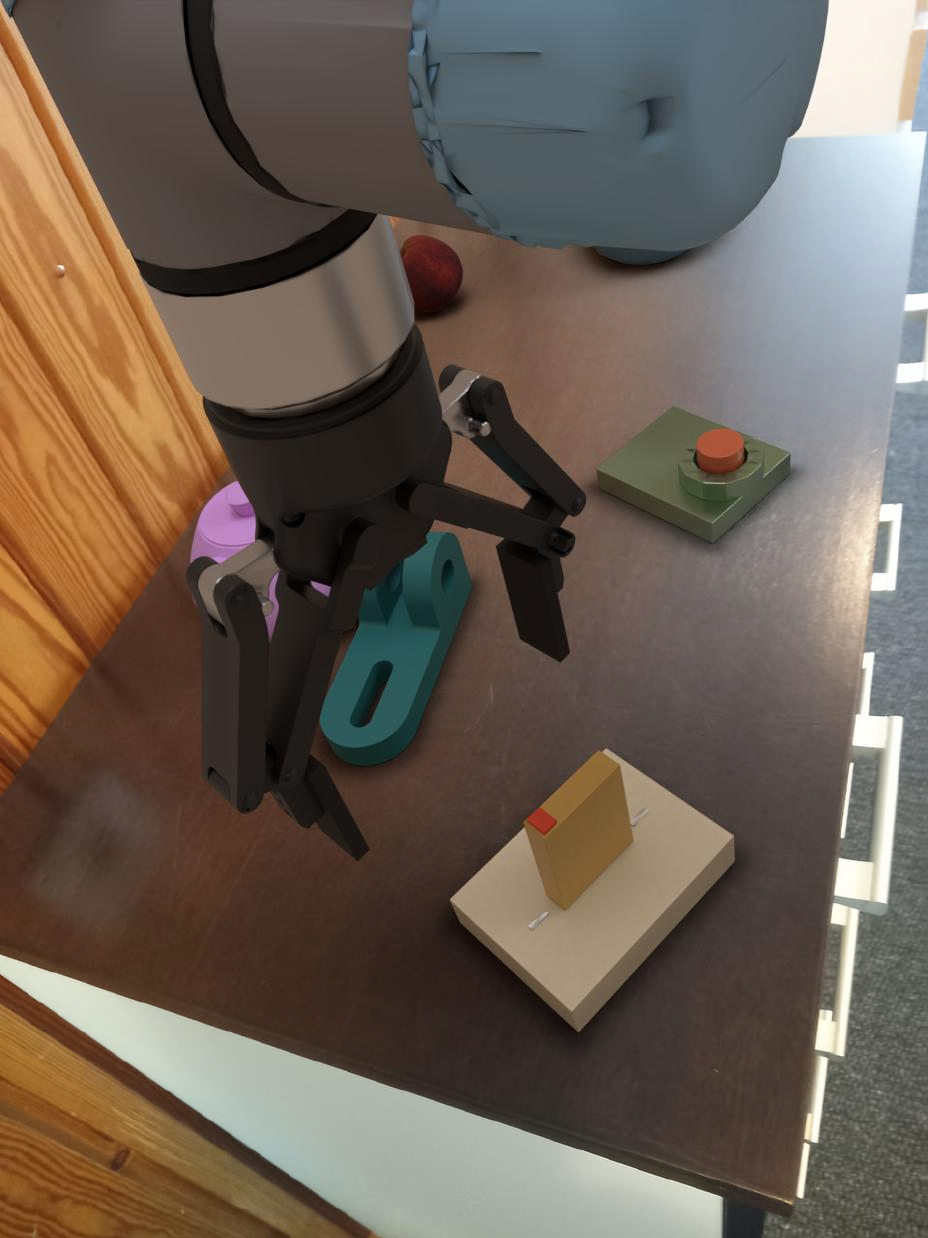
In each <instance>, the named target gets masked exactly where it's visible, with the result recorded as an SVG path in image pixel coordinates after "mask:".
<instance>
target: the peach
mask: <svg viewBox="0 0 928 1238" xmlns="http://www.w3.org/2000/svg"><path fill="white" fill-rule="evenodd" d="M399 252H400V256H401V259H402V262H403V266H404V269H405V273H406V276H407V279H408V283H409V286H410V290H411V293H412V296H413V300H414V311H417V312H422V313H433V312H437V311H440V310H442V309H444V308H445V307H446V306H448V305H449V304H450V303H451V302H453V300H454V299H455V297H456V296H457V295H458V293H459V291H460V289H461V286H462V283H463V278H464V267H463V264H462V261H461V259H460V257H459V255H458V253H457V252H456V251H455V250H454V249H453V248H452V247H451V246H450V245H449V244H447V243H445V242H444V241H443V240H440V239H438V238H436V237H433V236H430V235H429V236H428V235H423V234H415V235H412V236H409V237H407V239H405V240H404V242H403V244H402V246H401V248H400V249H399Z"/></svg>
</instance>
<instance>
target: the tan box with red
mask: <svg viewBox="0 0 928 1238" xmlns="http://www.w3.org/2000/svg"><path fill="white" fill-rule="evenodd" d="M602 752H603V751H601V750H600V749H598V750H597V751H596V752H595V753H593V755H591V756H590V757H589V759H587V761H585V762H584V764H582V765H581V767H579V768H578V769H577V770H576V771H575V772H574V773H573V774H572V775H571V776H570V777H569V778H568V779H567V780H566V781H565V782H564V783H563V784H561V785H560V786H559V787H558V788H557V790H555V792H553V793H552V794H550V796H549V797H548V798H547V799H546V800H545V801H544V802H543V803H542V804H541V805H540V806H539V807H538V808H536V809H535V810H534V811H533V813H531V815H530V816H528V817H527V818H526V819H525V820H524V821H523V822H522V823H523V828H524V827H525V830H526V833H527V836H528V840H529V843H530V846H531V849H532V852H533V855H534V858H535V862H536V865H537V868H538V871H539V874H540V877H541V880H542V884H543V887H544V890H545V893H546V895H547V896H548V897H549V898H551V899H552V900H553V901H554V902H555V903H557V904H558V905H559V906H560V907H561V908H562V909H564V910H567V909H568V908H569V907H570V905H571V904H572V903H573V902H574V901H575V900H576V899H577V898H578V897H579V896H580V895H581V894H582V893H583V892H584V891H585V890H586V889H587V888H588V887H589V886H590V885H591V884H592V883H593V882H594V881H595V880H596V879H597V878H598V877H599V876H600V875H601V874H602V873H603V872H604V871H605V870H606V868H607V867H608V866H609V865H610V864H611V863H612V862H613V861H614V860H615V859H616V858H617V857H618V856H619V855H620V854H621V853H622V852H623V851H624V850H625V849H626V848H627V847H628V846H629V845H630V844H631V843H632V842H633V834H632V828H631V823H630V817H629V812H628V806H627V800H626V795H625V789H624V783H623V778H622V772H621V767H620V764H618V763H617V762H615V761H614V760H613V759H611V758H610V757H608V756H607V755H605V754H604V753H602Z"/></svg>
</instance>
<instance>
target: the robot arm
mask: <svg viewBox="0 0 928 1238" xmlns="http://www.w3.org/2000/svg"><path fill="white" fill-rule="evenodd" d="M0 3H1V6H2V7H3V9H4V11H5V13H6V15H7V16H8V18H9V19H10V20H11V18H12V20H13V22H14V24H15V27H16V29H17V30H18V32H19V34H20V35H21V38H22V40H23V42H24V44H25V46H26V48H27V50H28V52H29V55H30V56H31V58H32V60H33V62H34V64H35V66H36V68H37V70H38V72H39V74H40V76H41V78H42V81H43V83H44V84H45V86H46V89H47V90H48V92H49V95H50V97H51V98H52V101H53V102H54V104H55V106H56V108H57V112H58V113H59V114H60V117H61V119H62V120H63V123H64V125H65V127H66V129H67V130H68V133H69V135H70V136H71V139H72V141H73V143H74V145H75V147H76V149H77V151H78V153H79V155H80V157H81V159H82V161H83V163H84V165H85V167H86V169H87V171H88V173H89V175H90V177H91V179H92V181H93V184H94V185H95V187H96V189H97V191H98V194H99V195H100V197H101V199H102V201H103V203H104V206H105V207H106V209H107V211H108V213H109V215H110V217H111V220H112V221H113V224H114V225H115V227H116V229H117V232H118V234H119V235H120V237H121V240H122V242H123V244H124V245H125V247H126V249H127V250H129V252H130V255H131V258H132V259H133V261H134V263H135V265H136V268H137V269H138V271H139V272H138V273H139V274H138V275H139V277H140V279H141V281H142V283H143V286H144V287H145V289H146V291H147V294H148V296H149V298H150V300H151V302H152V303H153V306H154V308H155V310H156V312H157V314H158V316H159V319H160V321H161V323H162V324H163V327H164V330H165V331H166V334H167V335H168V337H169V339H170V341H171V344H172V346H173V348H174V349H175V351H176V352H175V353H176V354H177V356H178V358H179V360H180V362H181V364H182V366H183V368H184V370H185V372H186V374H187V377H188V379H189V381H190V383H191V384H192V386H193V388H194V389H195V390H196V392H197V393H198V394H200V395H201V396H202V398H201V399H202V408H203V411H204V413H205V414H204V415H205V416H206V419H207V420H208V422H209V424H210V426H211V428H212V430H213V433H214V435H215V437H216V439H217V441H218V444H219V445H220V447H221V449H222V451H223V453H224V455H225V458H226V459H227V462H228V464H229V466H230V469H231V471H232V472H233V474H234V477H235V478H236V481H238V483H239V485H240V486H241V488H242V490H243V492H244V494H245V495H246V497H247V499H248V500H249V502H250V504H251V506H252V508H253V510H254V514H255V522H256V527H255V542H253V543H252V544H250V545H248V546H247V547H245V548H244V549H242V550H241V551H239V552H237V553H236V554H234V555H233V556H231V557H230V558H228V559H226V560H225V561H223V562H222V563H218V562H217V561H215V560H214V559H212V558H210V557H208V556H201V557H199V558H196V559H195V560H194V561H193V562H191V563H190V562H189V565H188V567H187V569H186V573H185V579H186V583H187V585H188V588H189V590H190V593H191V596H192V595H193V596H192V599H193V598H194V600H195V603H196V605H197V606H196V605H195V606H196V608H197V610H198V612H199V615H200V617H201V619H200V622H201V626H200V627H201V628H200V629H201V632H200V634H201V637H200V638H201V639H200V640H201V642H200V643H201V645H200V646H201V647H200V648H201V650H200V651H201V652H200V654H201V659H200V661H201V663H200V664H201V669H200V670H201V674H200V675H201V678H200V679H201V680H200V681H201V684H200V685H201V690H200V691H201V777H202V779H203V780H204V781H205V782H206V783H207V784H208V785H209V786H210V787H211V788H212V789H213V790H215V791H216V793H218V794H219V795H220V796H221V798H223V799H224V800H226V801H227V802H228V803H229V804H230V805H231V806H233V808H235V809H236V810H237V811H238V812H239V813H240V814H243V815H244V814H245V815H246V814H251V813H252V812H253V811H255V810H256V809H258V808H259V806H260V805H261V804H262V803H263V800H264V797H265V794H268V793H270V794H271V796H272V797H273V799H274V801H275V802H276V804H277V806H278V808H279V809H281V811H283V812H284V813H285V814H286V815H287V816H289V817H290V818H291V819H292V820H293V821H294V822H295V823H296V824H298V825H299V826H300V827H302V828H304V829H306V830H309V829H310V828H311V827H312V826H313V825H315V824H316V826H317V828H318V829H319V830H320V831H321V832H322V833H323V834H325V835H326V836H327V837H328V838H329V839H330V840H332V841H333V842H334V843H335V844H337V846H339V847H340V848H341V849H342V850H343V851H345V853H347V854H348V855H349V856H350V857H352V858H353V859H354V860H355V861H356V862H359V861H360V860H361V859H362V858H363V857H365V855H366V854H367V853H368V852H369V851H370V850H371V848H370V847H369V845H368V843H367V841H366V839H365V837H364V835H363V833H362V832H361V830H360V828H359V826H358V824H357V822H356V820H355V818H354V817H353V815H352V813H351V812H350V809H349V808H348V805H347V803H346V802H345V800H344V798H343V796H342V795H341V793H340V791H339V789H338V787H337V786H336V784H335V782H334V780H333V778H332V776H331V774H330V773H329V771H328V768H327V767H326V765H325V764H323V763H322V762H321V761H320V760H319V759H317V758H316V757H315V756H314V755H312V754H311V752H312V747H313V745H314V740H315V736H316V733H317V729H318V726H319V723H320V715H321V711H322V708H323V704H324V701H325V698H326V696H327V694H328V690H329V685H330V682H331V678H332V674H333V671H334V667H335V663H336V661H337V660H336V659H337V656H338V652H339V649H340V645H341V642H342V639H343V634H344V632H346V631H350V630H352V629H353V628H354V627H355V625H356V623H357V620H358V613H359V609H360V606H361V602H362V598H363V595H364V591H365V588H366V589H367V590H369V591H371V590H373V589H374V588H375V587H376V586H377V585H378V584H380V583H381V582H382V581H383V580H384V579H385V578H386V577H387V576H388V574H389V573H390V572H391V571H392V570H393V568H394V567H395V566H396V565H397V563H399V562H400V561H402V560H404V559H406V558H408V557H410V556H412V555H414V554H415V553H416V552H417V551H418V550H420V549H421V548H422V547H423V546H424V545H425V544H427V543H428V542H427V539H426V536H427V534H428V533H429V531H431V530H432V528H433V525H434V524H435V523H434V522H435V521H438V522H441V523H446V524H448V525H452V526H456V527H458V528H462V529H466V530H468V529H472V530H475V531H478V532H482V533H484V534H489V535H491V536H495V537H498V538H502V540H500V542H498V543H497V545H495V550H496V553H497V557H498V561H499V565H500V568H501V569H500V570H501V573H502V576H503V580H504V584H505V588H506V592H507V596H508V599H509V603H510V608H511V611H512V614H513V620H514V622H515V625H516V629H517V630H516V631H517V634H518V637H519V640H520V641H522V642H524V643H525V644H527V645H529V646H531V647H532V648H534V649H536V650H537V651H539V652H541V653H543V654H544V655H546V656H548V657H549V658H552V659H553V660H554V661H557V662H558V663H559V664H561V663H562V662H563V661H564V660H565V659H566V658H567V657H568V656H569V655H570V654H571V649H570V645H569V641H568V635H567V631H566V625H565V621H564V616H563V612H562V611H563V610H562V607H561V602H560V597H559V593H560V591H562V590H563V589H564V583H565V575H564V570H563V565H562V560H561V559H562V558H567V557H568V556H569V555H570V554H571V553H572V551H573V550H574V547H575V544H576V535H575V534H574V532H572V531H570V530H568V529H566V528H564V527H562V525H563V523H564V522H565V521H566V519H567V518H568V516H570V517H573V518H576V517H578V516H579V515H580V514H581V513H582V512H583V511H584V508H585V507H586V503H587V495H586V493H585V491H584V490H583V489H582V488H581V487H580V486H579V485H578V484H577V483H576V482H575V481H574V480H573V479H572V478H571V477H570V476H569V475H568V474H567V472H566V471H565V470H564V469H563V468H562V467H561V466H560V465H559V464H558V463H557V462H556V461H555V460H554V459H553V457H551V455H549V453H547V452H546V450H545V449H544V448H543V447H542V446H541V445H540V444H539V442H537V441H536V440H535V439H534V438H533V437H532V436H531V435H530V434H529V433H528V432H527V431H526V429H525V428H524V427H523V426H522V425H521V424H520V423H519V422H518V421H517V420H516V419H515V416H514V413H513V410H512V407H511V403H510V400H509V398H508V395H507V393H506V389H505V386H504V385H503V383H502V382H501V381H499V380H497V379H493V378H491V377H489V376H487V375H484V374H481V373H478V372H476V371H473V370H470V369H468V368H465V367H462V366H459V365H457V364H454V363H452V364H451V363H450V364H448V365H446V366H445V367H443V369H442V371H441V372H440V374H439V376H438V383H437V385H438V389H439V392H440V393H438V389H437V385H436V382H435V378H434V374H433V371H432V368H431V363H430V360H429V356H428V353H427V349H426V345H425V342H424V339H423V335H422V332H421V330H420V328H419V327H418V325H417V324H416V322H415V309H414V300H413V296H412V293H411V290H410V286H409V283H408V279H407V276H406V273H405V269H404V266H403V262H402V259H401V256H400V249H399V245H398V242H397V238H396V236H395V231H394V229H393V226H392V222H391V219H390V217H392V218H397V219H403V220H408V221H414V222H419V223H424V224H430V225H435V226H436V225H437V226H441V227H446V228H451V229H457V230H463V231H467V232H473V233H479V234H483V235H489V236H493V237H494V236H495V237H497V238H500V239H502V240H504V241H514V242H516V243H518V244H519V245H521V246H523V247H528V248H534V249H536V248H538V247H539V246H540V247H542V248H544V249H545V248H547V249H552V250H558V251H561V250H563V249H565V248H566V247H568V246H570V245H573V246H578V247H583V248H590V247H593V246H605V247H619V248H633V249H647V250H661V251H679V250H685V249H688V250H691V249H695V248H698V247H702V246H704V245H708V244H709V243H711V242H714V241H715V240H718V239H720V238H721V237H723V236H725V235H726V234H728V233H729V232H731V231H732V230H734V229H735V228H736V227H737V226H738V225H740V224H741V223H742V222H743V221H745V219H747V217H749V215H751V214H752V212H753V211H754V210H755V209H756V208H757V206H759V204H760V202H761V201H762V200H763V198H764V197H765V196H766V194H767V193H768V191H769V190H770V189H771V187H772V186H773V185H774V183H775V182H776V180H777V178H778V176H779V173H780V170H781V166H782V160H783V155H784V151H785V147H786V143H787V141H788V140H789V138H791V137H793V136H794V135H795V134H796V133H797V132H798V131H799V130H800V129H801V127H802V125H803V122H804V119H805V117H806V113H807V111H808V108H809V105H810V102H811V98H812V96H813V92H814V87H815V85H816V80H817V75H818V72H819V68H820V63H821V58H822V53H823V49H824V43H825V39H826V38H825V37H826V31H827V30H826V29H827V24H828V23H827V22H828V14H829V5H830V0H0ZM452 433H454V434H456V435H459V436H461V437H463V438H466V439H468V440H469V441H470V442H472V444H474V445H475V446H476V447H477V449H479V450H480V451H481V452H482V453H483V455H485V456H486V457H487V458H488V459H489V460H490V461H491V462H492V463H494V464H495V465H496V466H497V467H498V468H499V469H500V470H501V471H502V472H503V473H504V474H505V475H506V476H507V477H508V478H509V479H511V480H512V482H514V483H515V484H516V485H517V487H519V488H520V489H521V490H522V491H523V492H524V493H525V494H526V495H527V496H529V497H530V498H529V499H528V501H527V502H526V504H525V505H524V506H523V508H521V507H520V506H516V505H513V504H510V503H509V502H508V503H507V502H504V501H502V500H499V499H496V498H494V497H490V496H487V495H485V494H481V493H478V492H476V491H473V490H469V489H467V488H464V487H461V486H458V485H456V484H453V483H449V482H447V481H445V477H446V474H447V470H448V465H449V461H450V456H451V453H452V448H453V436H452ZM278 572H279V573H278ZM277 573H278V577H277V581H276V585H275V597H276V599H277V602H278V605H279V610H278V614H277V618H276V622H275V626H274V630H273V634H272V638H271V642H270V644H269V634H268V627H267V623H266V620H265V617H266V616H269V615H270V614H271V613H272V612H273V610H274V603H273V602H272V601H270V600H269V587H270V583H271V581H272V579H273V578H274V576H275V575H276V574H277ZM311 581H313V582H316V583H319V584H323V585H326V586H329V587H331V589H330V592H329V596H326V595H325V594H323V593H322V592H320V591H318V590H317V589H315V588H314V587H313V586H312V583H311ZM194 600H193V601H194ZM195 603H194V604H195Z"/></svg>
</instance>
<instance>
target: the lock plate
mask: <svg viewBox="0 0 928 1238" xmlns="http://www.w3.org/2000/svg"><path fill="white" fill-rule="evenodd" d="M601 752H602V753H604V754H605V755H607V756H608V757H610V758H611V759H613V760H614V761H615V762H617V763H618V764H620V767H621V772H622V778H623V783H624V789H625V795H626V800H627V806H628V812H629V817H630V823H631V828H632V834H633V842H632V843H631V844H630V845H629V846H628V847H627V848H626V849H625V850H624V851H623V852H622V853H621V854H620V855H619V856H618V857H617V858H616V859H615V860H614V861H613V862H612V863H611V864H610V865H609V866H608V867H607V868H606V870H605V871H604V872H603V873H602V874H601V875H600V876H599V877H598V878H597V879H596V880H595V881H594V882H593V883H592V884H591V885H590V886H589V887H588V888H587V889H586V890H585V891H584V892H583V893H582V894H581V895H580V896H579V897H578V898H577V899H576V900H575V901H574V902H573V903H572V904H571V905H570V907H569V908H568V909H567V910H564V909H562V908H561V907H560V906H559V905H558V904H557V903H555V902H554V901H553V900H552V899H551V898H549V897H548V896H547V895H546V893H545V890H544V887H543V884H542V880H541V877H540V874H539V871H538V868H537V865H536V862H535V858H534V855H533V852H532V849H531V846H530V843H529V840H528V836H527V833H526V830H525V827H524V826H523V828H522V829H521V830H520V831H519V832H518V833H516V834H515V836H514V837H512V838H511V840H510V841H509V842H507V843H506V844H505V845H504V846H503V847H502V848H501V849H500V850H499V851H498V852H497V853H496V854H494V856H493V857H492V858H491V859H490V860H489V861H488V862H487V863H486V864H485V865H483V867H482V868H481V869H479V871H477V872H476V874H475V875H473V876H472V877H471V878H470V879H469V880H468V881H467V882H466V883H465V884H464V885H463V886H462V887H461V888H460V889H459V890H458V891H457V892H455V894H454V895H453V896H452V897H451V898H449V901H450V904H451V906H452V908H453V910H454V912H455V915H456V917H457V919H458V922H459V923H460V924H461V925H462V926H463V927H464V928H465V929H466V930H467V931H468V932H470V933H471V934H472V935H473V936H474V937H475V939H477V940H478V941H479V942H480V943H481V944H482V945H483V946H484V947H486V948H487V950H489V951H490V952H491V953H492V954H493V955H494V956H495V957H496V958H497V959H498V960H499V961H501V963H503V964H504V965H505V966H506V967H507V968H508V969H509V970H510V971H511V972H512V973H514V974H515V975H516V977H518V978H519V979H520V980H521V981H522V982H523V983H524V984H525V985H526V986H527V987H528V988H530V989H531V991H533V993H535V994H536V995H537V996H539V998H540V999H541V1000H542V1001H543V1002H545V1003H546V1004H547V1005H548V1006H549V1007H550V1008H551V1009H552V1010H553V1011H555V1012H556V1014H558V1015H559V1016H560V1017H561V1018H562V1019H563V1020H564V1021H565V1022H566V1023H567V1024H569V1025H570V1026H571V1027H572V1028H573V1029H574V1030H575V1031H576V1032H577V1033H580V1032H581V1031H582V1030H583V1029H584V1028H585V1026H586V1025H587V1024H588V1023H589V1022H590V1021H591V1020H592V1019H593V1018H594V1016H595V1015H596V1014H598V1012H599V1011H600V1010H601V1009H602V1008H603V1006H604V1005H605V1004H606V1003H607V1002H608V1001H609V1000H610V999H611V998H612V997H613V996H614V995H615V993H616V992H617V991H618V990H619V989H620V988H621V987H622V986H623V985H624V983H626V982H627V980H628V979H629V978H630V977H631V976H632V975H633V974H634V973H635V972H636V970H638V968H639V967H640V966H641V965H642V964H643V963H644V962H645V961H646V960H647V958H648V957H649V956H650V955H651V954H653V952H654V951H655V949H657V947H658V946H659V945H660V944H661V943H662V942H663V941H664V940H665V939H666V938H667V936H668V935H669V934H670V933H672V931H673V930H674V929H675V928H676V927H677V926H678V925H679V923H680V922H681V921H682V920H683V919H684V918H685V917H686V915H688V913H689V912H690V911H691V910H692V909H693V908H694V907H695V906H696V905H697V904H698V902H699V901H700V900H701V899H702V898H703V897H704V896H705V895H706V894H707V892H709V890H710V889H711V888H712V887H713V886H714V885H715V884H716V882H718V880H720V878H721V877H723V875H724V874H725V873H726V872H727V871H728V870H729V868H731V866H732V865H733V864H734V863H735V862H736V857H735V856H736V855H735V836H734V834H732V833H731V832H729V831H728V830H726V829H725V828H723V827H722V826H720V825H719V824H717V823H716V822H714V821H713V820H712V819H710V818H709V817H707V816H706V815H704V814H703V813H701V812H700V811H698V810H697V809H695V808H694V807H693V806H691V805H690V804H688V803H687V802H686V801H684V800H682V799H681V798H680V797H678V796H677V795H675V794H674V793H672V792H671V791H670V790H668V789H666V788H665V787H663V786H662V785H660V784H659V782H656V781H655V780H653V779H652V778H650V777H649V776H647V775H646V774H645V773H643V772H642V771H640V770H639V769H638V768H635V766H633V765H631V764H630V763H628V762H627V761H625V760H624V759H623V758H621V757H620V756H619V755H617V754H616V753H614V752H613V751H611V750H609V749H608V748H605V749H604V750H602V751H601Z"/></svg>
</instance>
